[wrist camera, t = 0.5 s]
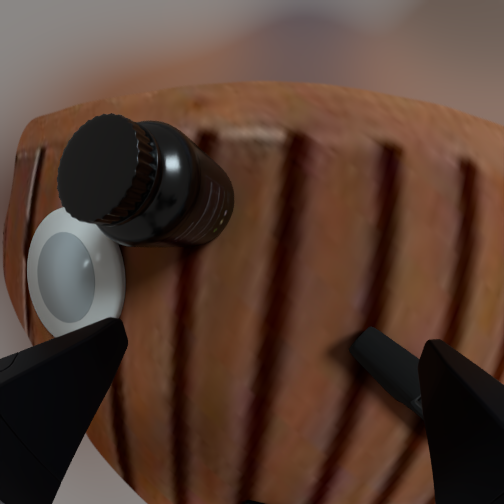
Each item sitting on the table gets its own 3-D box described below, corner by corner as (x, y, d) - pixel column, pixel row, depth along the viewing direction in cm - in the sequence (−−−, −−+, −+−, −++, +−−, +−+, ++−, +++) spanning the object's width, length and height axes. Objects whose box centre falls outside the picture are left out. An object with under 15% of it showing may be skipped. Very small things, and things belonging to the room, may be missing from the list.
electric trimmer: (369, 308, 20) (378, 317, 17) (471, 407, 18) (485, 422, 15) (334, 345, 21) (338, 359, 18) (442, 436, 19) (453, 453, 15)
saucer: (117, 363, 24) (106, 369, 22) (33, 314, 26) (23, 316, 24) (138, 223, 23) (127, 221, 21) (47, 200, 25) (36, 198, 24)
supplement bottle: (141, 221, 23) (26, 202, 11) (182, 147, 22) (89, 77, 11) (208, 264, 22) (108, 279, 10) (254, 184, 21) (196, 115, 10)
